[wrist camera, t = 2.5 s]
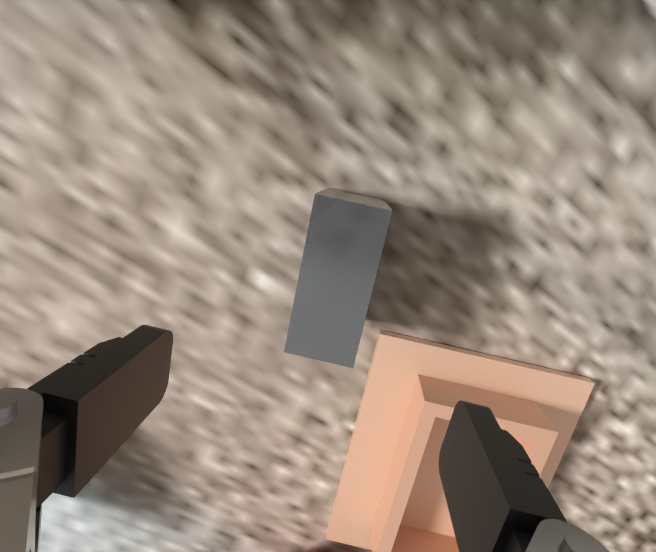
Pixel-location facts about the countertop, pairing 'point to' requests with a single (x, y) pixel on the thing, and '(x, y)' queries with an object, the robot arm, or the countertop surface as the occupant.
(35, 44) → the countertop surface
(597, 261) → the countertop surface
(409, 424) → the caddy
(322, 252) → the grey rectangular block
